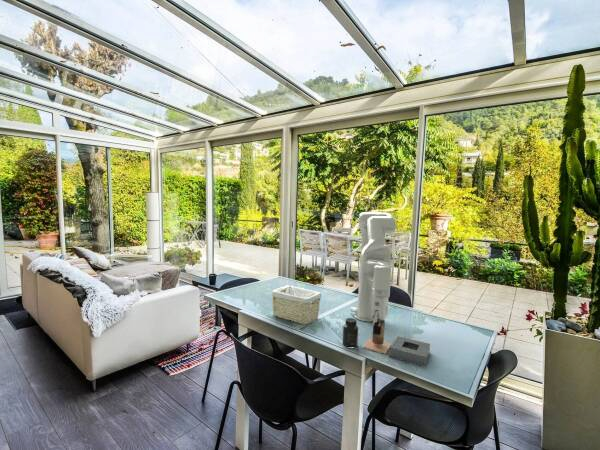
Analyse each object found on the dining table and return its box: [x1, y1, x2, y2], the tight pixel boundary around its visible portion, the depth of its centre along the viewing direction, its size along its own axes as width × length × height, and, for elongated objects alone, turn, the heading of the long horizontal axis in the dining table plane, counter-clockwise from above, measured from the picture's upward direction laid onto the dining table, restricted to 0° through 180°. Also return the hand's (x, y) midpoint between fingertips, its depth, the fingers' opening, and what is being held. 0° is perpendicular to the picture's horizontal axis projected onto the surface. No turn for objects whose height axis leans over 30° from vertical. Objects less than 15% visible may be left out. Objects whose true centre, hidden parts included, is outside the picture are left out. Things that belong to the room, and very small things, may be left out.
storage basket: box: [271, 284, 322, 325], centre depth 172 cm, size 24×16×15 cm
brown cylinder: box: [371, 319, 386, 345], centre depth 140 cm, size 5×5×10 cm
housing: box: [389, 335, 431, 367], centre depth 134 cm, size 14×14×4 cm
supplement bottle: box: [341, 317, 359, 348], centre depth 140 cm, size 7×7×12 cm
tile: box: [362, 338, 392, 355], centre depth 140 cm, size 10×10×1 cm
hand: (378, 331), depth 140 cm, fingers closed on brown cylinder, 5 cm apart
